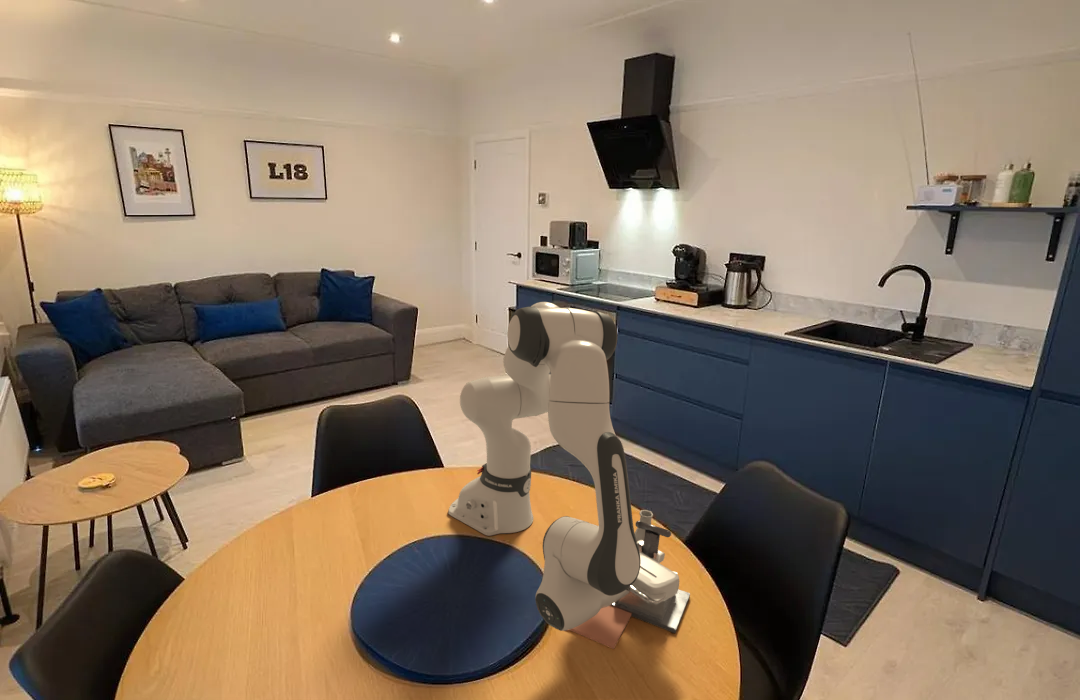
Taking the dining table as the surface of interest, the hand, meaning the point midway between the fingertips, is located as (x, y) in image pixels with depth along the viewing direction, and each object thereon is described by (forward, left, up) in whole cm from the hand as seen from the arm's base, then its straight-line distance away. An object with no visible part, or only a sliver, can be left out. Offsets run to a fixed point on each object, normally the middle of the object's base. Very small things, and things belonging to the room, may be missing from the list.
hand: (652, 549), depth 113 cm
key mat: (-8, -12, -12) cm, 19 cm away
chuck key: (0, -1, -9) cm, 9 cm away
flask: (-6, +16, -12) cm, 21 cm away
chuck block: (0, -1, -12) cm, 12 cm away
